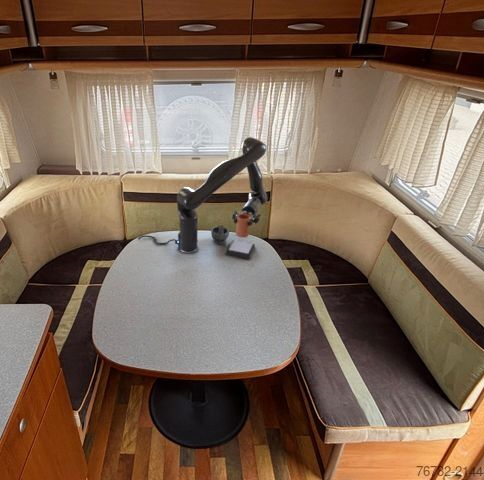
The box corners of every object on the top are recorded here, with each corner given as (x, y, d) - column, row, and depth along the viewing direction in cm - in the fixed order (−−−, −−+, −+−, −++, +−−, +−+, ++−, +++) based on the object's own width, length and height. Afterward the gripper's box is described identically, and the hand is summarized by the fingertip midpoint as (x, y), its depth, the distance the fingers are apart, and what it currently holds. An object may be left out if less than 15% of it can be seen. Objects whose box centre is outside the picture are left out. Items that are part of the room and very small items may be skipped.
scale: (226, 254, 182) (226, 249, 181) (232, 243, 192) (232, 239, 191) (248, 259, 179) (249, 254, 177) (254, 248, 188) (255, 243, 187)
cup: (234, 235, 178) (235, 218, 173) (237, 230, 183) (239, 212, 178) (246, 238, 176) (248, 220, 171) (250, 232, 181) (251, 214, 176)
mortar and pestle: (210, 237, 198) (211, 217, 192) (227, 237, 199) (228, 217, 193) (211, 247, 189) (212, 227, 183) (229, 247, 189) (230, 227, 183)
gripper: (237, 200, 188) (228, 213, 174) (264, 205, 183) (257, 218, 169) (236, 213, 191) (227, 227, 178) (263, 218, 187) (255, 232, 173)
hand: (242, 222), depth 174 cm, fingers closed on cup, 6 cm apart
